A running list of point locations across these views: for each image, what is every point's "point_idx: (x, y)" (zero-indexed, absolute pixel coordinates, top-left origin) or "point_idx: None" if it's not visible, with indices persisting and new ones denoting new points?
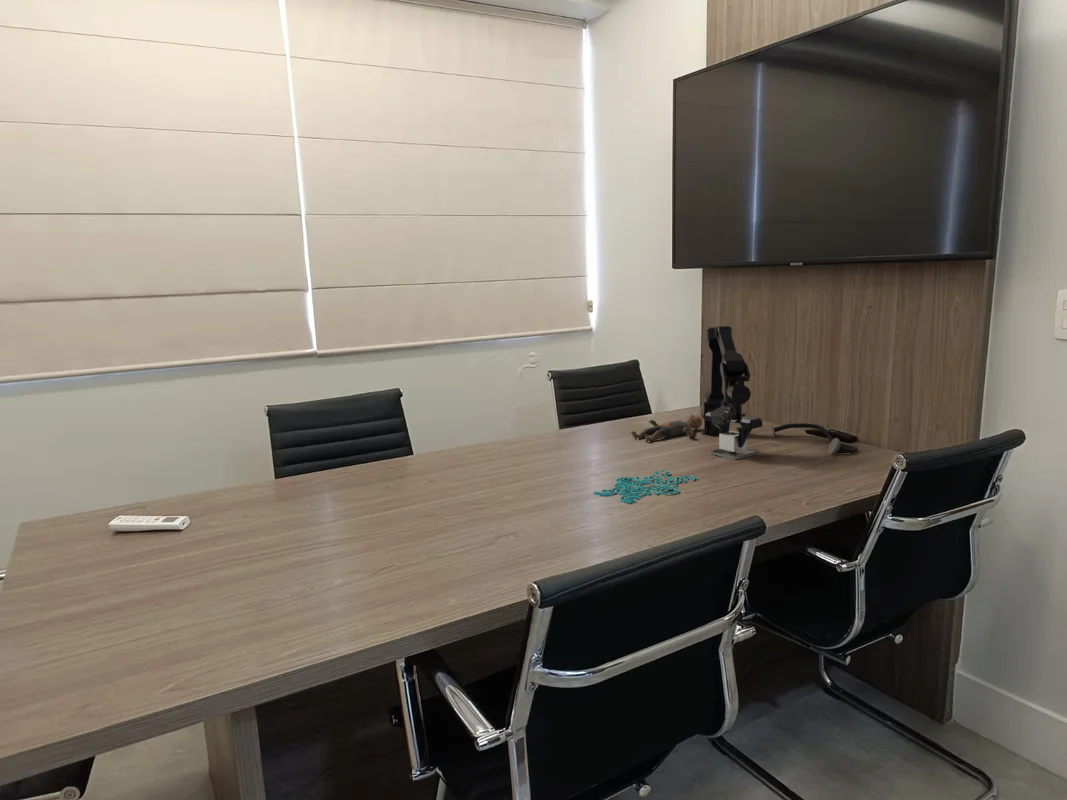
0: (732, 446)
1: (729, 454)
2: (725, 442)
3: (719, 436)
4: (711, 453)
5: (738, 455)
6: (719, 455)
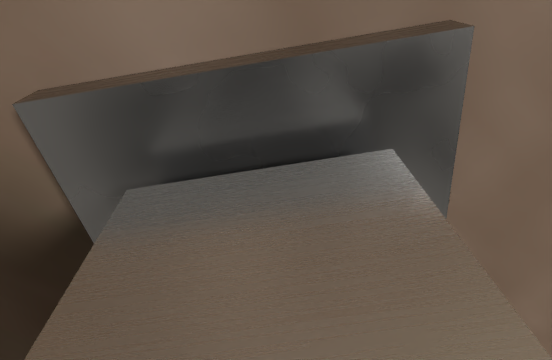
0: (130, 236)
1: (176, 136)
2: (286, 243)
3: (501, 302)
4: (435, 27)
5: (84, 189)
6: (286, 49)
